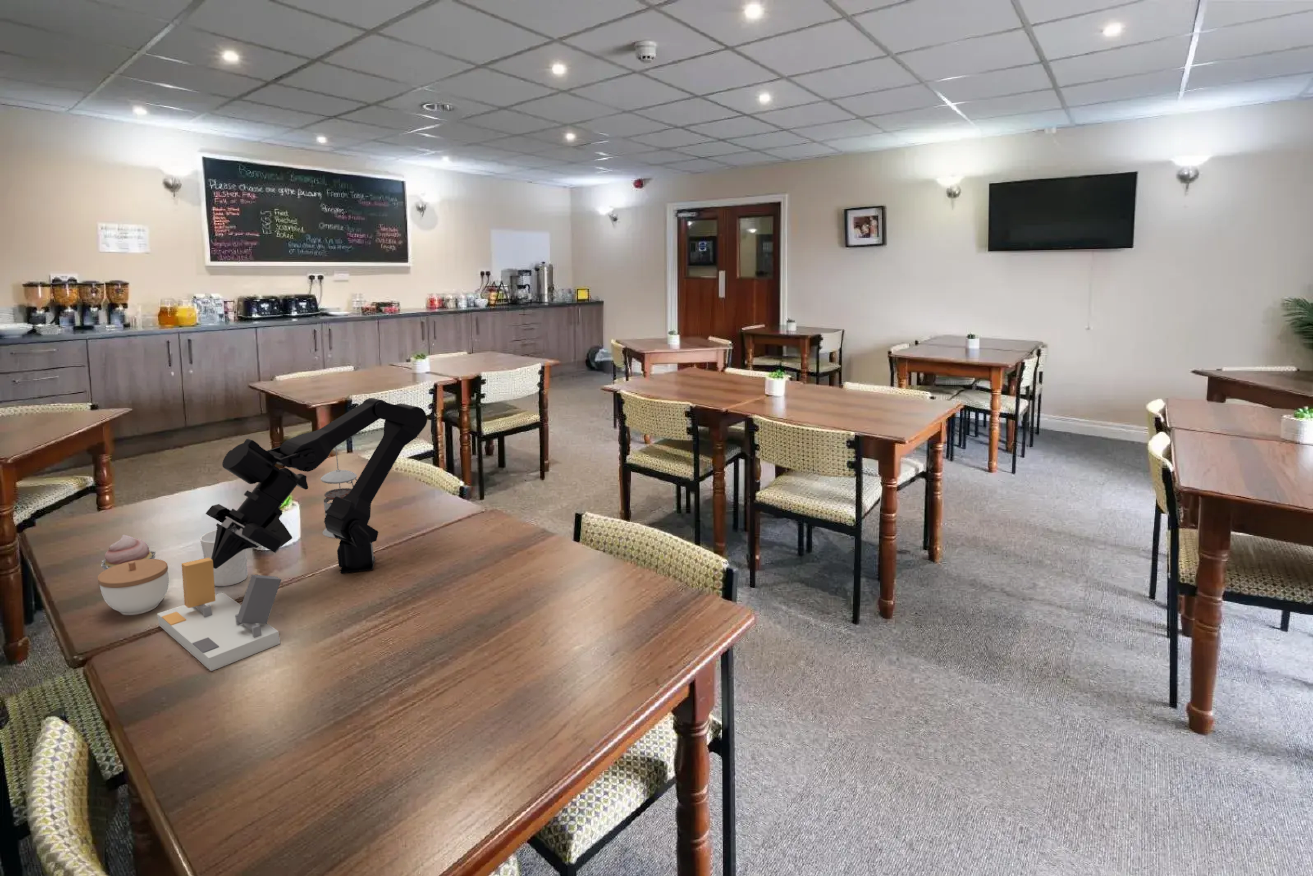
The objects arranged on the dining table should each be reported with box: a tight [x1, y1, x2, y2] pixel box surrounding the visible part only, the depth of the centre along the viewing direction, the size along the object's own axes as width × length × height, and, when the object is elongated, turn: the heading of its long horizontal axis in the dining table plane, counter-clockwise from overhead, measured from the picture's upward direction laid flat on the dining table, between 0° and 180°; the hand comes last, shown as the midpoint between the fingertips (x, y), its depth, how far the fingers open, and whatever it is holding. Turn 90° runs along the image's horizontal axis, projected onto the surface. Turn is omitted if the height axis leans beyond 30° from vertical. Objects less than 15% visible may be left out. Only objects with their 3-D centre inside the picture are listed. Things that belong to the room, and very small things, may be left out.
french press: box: [320, 446, 358, 539], centre depth 172 cm, size 10×12×25 cm
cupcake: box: [100, 534, 157, 571], centre depth 145 cm, size 9×9×10 cm
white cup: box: [199, 529, 249, 587], centre depth 146 cm, size 8×8×10 cm
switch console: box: [156, 592, 281, 672], centre depth 126 cm, size 11×23×4 cm, turn 52°
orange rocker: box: [181, 557, 216, 612], centre depth 129 cm, size 4×5×9 cm
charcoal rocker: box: [237, 574, 282, 631], centre depth 124 cm, size 4×5×9 cm
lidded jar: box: [97, 558, 170, 616], centre depth 134 cm, size 11×11×9 cm
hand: (212, 567), depth 130 cm, fingers closed, pressing on orange rocker
